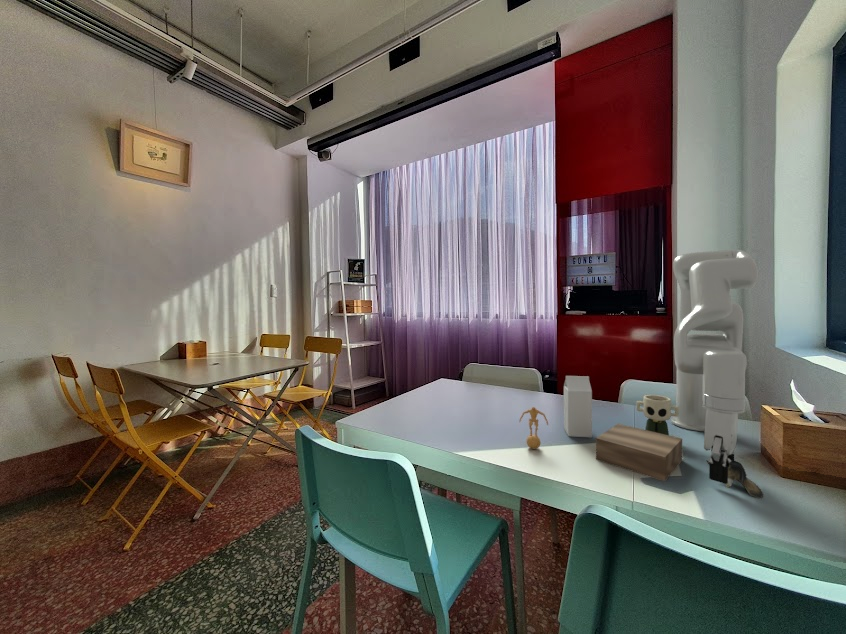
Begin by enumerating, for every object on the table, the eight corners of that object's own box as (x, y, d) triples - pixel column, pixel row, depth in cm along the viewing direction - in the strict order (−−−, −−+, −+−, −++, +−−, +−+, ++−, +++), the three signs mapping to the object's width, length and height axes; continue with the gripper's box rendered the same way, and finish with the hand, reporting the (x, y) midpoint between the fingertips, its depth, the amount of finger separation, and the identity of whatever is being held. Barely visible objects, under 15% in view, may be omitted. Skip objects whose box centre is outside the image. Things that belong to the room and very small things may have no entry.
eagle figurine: (700, 475, 82) (742, 488, 74) (708, 448, 84) (750, 457, 75) (724, 490, 83) (768, 504, 74) (732, 462, 85) (776, 473, 76)
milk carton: (592, 438, 109) (591, 378, 108) (568, 436, 110) (568, 378, 110) (586, 429, 116) (586, 374, 115) (563, 428, 117) (563, 373, 116)
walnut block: (617, 442, 105) (618, 423, 104) (682, 460, 93) (682, 438, 92) (595, 459, 94) (595, 438, 94) (664, 481, 82) (665, 457, 82)
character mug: (635, 438, 108) (635, 397, 107) (637, 431, 113) (637, 392, 113) (678, 446, 101) (678, 403, 101) (678, 438, 107) (678, 397, 106)
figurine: (518, 449, 102) (518, 409, 101) (520, 441, 107) (520, 403, 107) (548, 453, 99) (548, 412, 98) (548, 444, 104) (548, 406, 104)
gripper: (710, 392, 90) (709, 458, 90) (694, 407, 78) (693, 481, 79) (749, 398, 84) (748, 468, 85) (738, 414, 73) (737, 495, 73)
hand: (721, 474), depth 82 cm, fingers open, 8 cm apart
